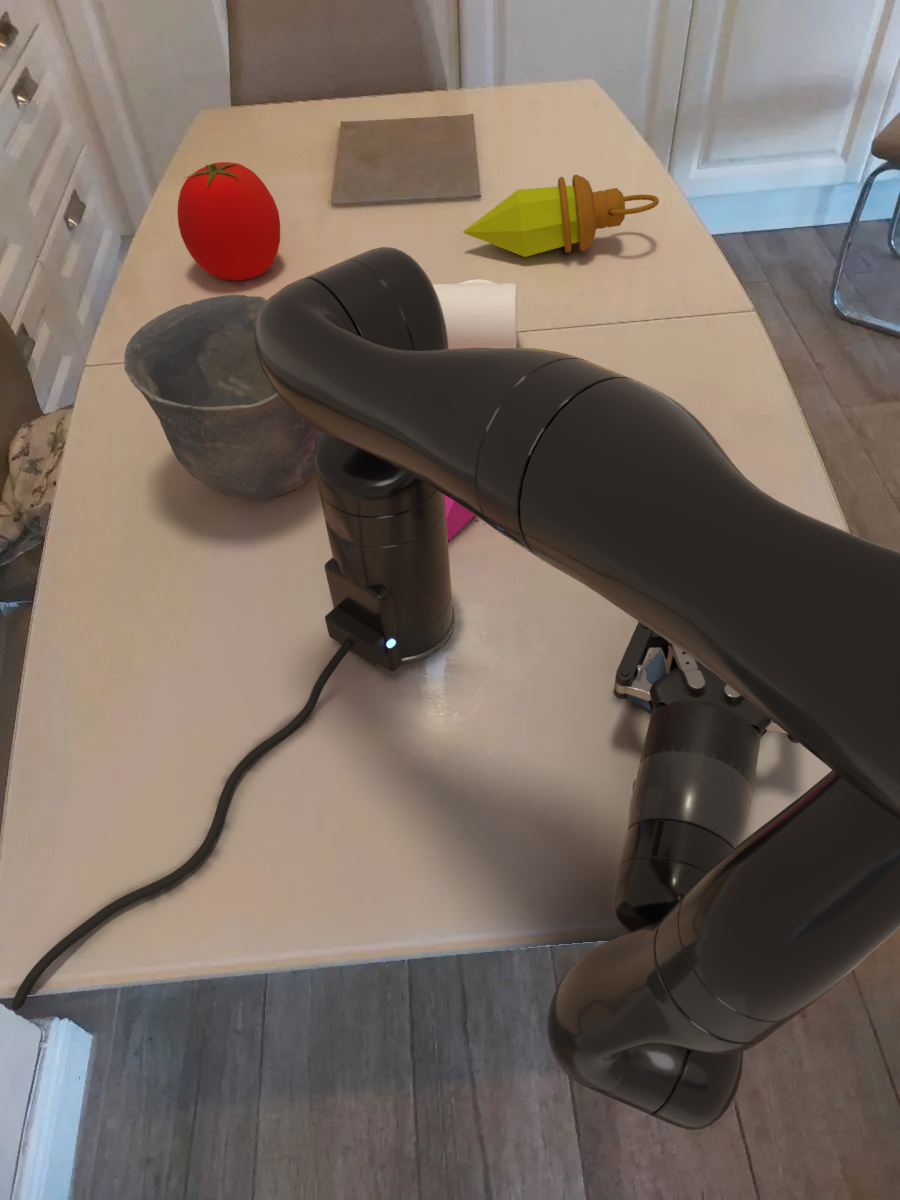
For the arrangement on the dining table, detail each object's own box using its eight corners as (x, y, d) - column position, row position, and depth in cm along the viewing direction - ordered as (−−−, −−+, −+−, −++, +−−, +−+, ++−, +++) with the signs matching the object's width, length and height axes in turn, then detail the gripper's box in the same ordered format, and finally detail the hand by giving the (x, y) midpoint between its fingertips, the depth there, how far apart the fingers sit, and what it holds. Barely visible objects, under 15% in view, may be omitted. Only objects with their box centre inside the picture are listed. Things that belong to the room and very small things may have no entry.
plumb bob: (466, 278, 116) (665, 247, 113) (454, 204, 111) (662, 169, 108) (468, 257, 124) (655, 227, 120) (457, 187, 118) (652, 153, 115)
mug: (515, 372, 102) (515, 309, 96) (427, 372, 103) (422, 309, 97) (517, 313, 110) (517, 250, 104) (435, 313, 111) (431, 251, 105)
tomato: (182, 294, 116) (149, 184, 105) (204, 249, 123) (176, 141, 113) (278, 294, 115) (255, 183, 104) (295, 248, 122) (275, 140, 112)
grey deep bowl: (154, 537, 88) (100, 413, 76) (184, 422, 99) (142, 298, 88) (337, 528, 87) (311, 401, 76) (347, 413, 99) (326, 288, 87)
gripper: (820, 789, 56) (839, 592, 66) (591, 729, 60) (642, 551, 70) (791, 843, 62) (812, 654, 72) (584, 785, 65) (632, 613, 75)
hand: (728, 604), depth 71 cm, fingers open, 6 cm apart
